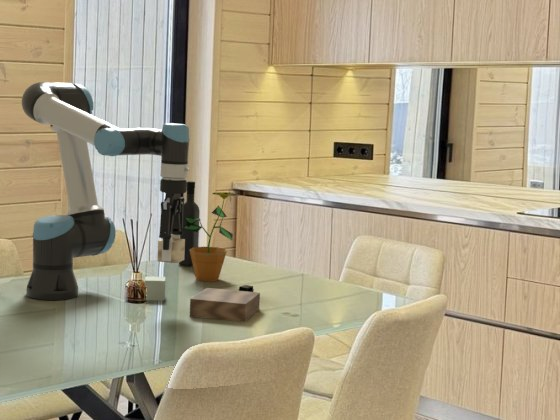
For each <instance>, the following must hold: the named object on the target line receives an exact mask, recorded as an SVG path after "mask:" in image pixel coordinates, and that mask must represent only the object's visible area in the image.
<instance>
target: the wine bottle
mask: <svg viewBox="0 0 560 420" xmlns="http://www.w3.org/2000/svg"><path fill="white" fill-rule="evenodd" d="M195 189H196V182H195V181H189V180H187V191H186V199H185V201H184V210H183V227H184V226H185V225H186V224H187V222H186V218H191V219H199V218H200V213H201V212H200V207H199V205H198V204H197V203H196V201H195ZM193 224H195V225H198V226H200V221H199V220H197V221H196V222H195V223H193ZM181 232H183V235H180V234H179V235H180V239H185V254H184V260H183V261H181V262H179V263H178V265H180V266H185V267H193V263H192V259H191V255H190V250H189V249H191V248H193V247H199V242H200V241H199V238H200V230H199V231H198V232H195V231H192V230H188V229H185V228H183V231H181Z"/></svg>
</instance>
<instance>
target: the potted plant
mask: <svg viewBox="0 0 560 420" xmlns="http://www.w3.org/2000/svg"><path fill="white" fill-rule="evenodd" d="M212 195H216V196H219V197H220V198H222V199H223V201H222V205H221V206H220V205H217V206H216V208H214V209H213V211H212V212H211V214H213V215H215V216H217V219H216V220H215V222H214V224H213V226H212V229H211V231H210V233H208V232H207V230H206V229H205V228H204V226H203V225H202V223H201V219H200V217H199V219H191V218H186V222H187V224H186V225H185V226H184V227H183V228H185V229H188V230H192V231H195V232H198V231H199V232H200V230H201V229H203V231H204V232H205V233H206V236H208V242H207V246H198V247H193V248H191V249H189V250H190V255H191V259H192V263H193V266H192V267H193V271H194V276H195V280H197V281H199V282H216V281H219V279H220V275H221V272H222V268H223V265H224V261H225V258H226V254H227V249H226V248H221V247H218V246H210V245H211V238H212V235H213V232H214V229H217V228H218V231H219V234H221V235H222V236H224V237H226V238H227V239H228V240H230V241H233V233H232V232H230V231H229V230H228V229H226V228H224V227H222V223H223V219H224V218H226V217H228V216H227V215H226V213H225V211H223V207H224V203H225V200H226V199H228V197H230V196H232V197H235V196H237V193H232V192H213V193H212ZM220 217H221V221H220V225H218V226H216V225H217V222H218V221H219V219H220ZM197 220H199V226H198V225H195V224H193V223H195V222H196V221H197Z"/></svg>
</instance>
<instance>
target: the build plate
mask: <svg viewBox="0 0 560 420" xmlns="http://www.w3.org/2000/svg"><path fill="white" fill-rule="evenodd" d="M238 287H239V288H238V291H247V292H255V291H254V286H253V285H249V284H244V285H241V286H238Z"/></svg>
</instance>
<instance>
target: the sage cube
mask: <svg viewBox="0 0 560 420" xmlns="http://www.w3.org/2000/svg"><path fill="white" fill-rule="evenodd" d="M145 283H146V286H147V292H146V295H147V296H146V300H145V301H165V300H166V276H145V278H144V284H145Z"/></svg>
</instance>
